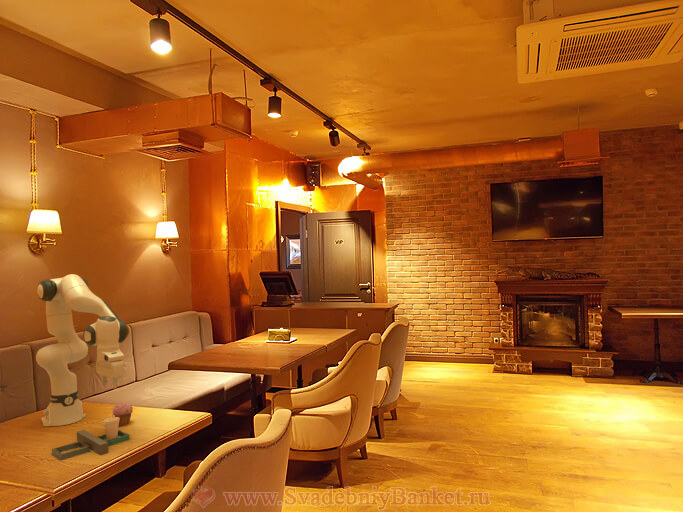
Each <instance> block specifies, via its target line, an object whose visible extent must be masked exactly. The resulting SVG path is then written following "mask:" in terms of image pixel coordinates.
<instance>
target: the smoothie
mask: <svg viewBox="0 0 683 512" xmlns="http://www.w3.org/2000/svg"><path fill="white" fill-rule="evenodd" d="M119 421H120V418H119V417H115V416H114V415H113V408H111V416H110V417H107V418H104V420H103V422H102V423H103V424H104V429H105V434H106V436H107V439H106V441H108V440H111V439H115V438H118V437H119V436H118V430H119V426H120V425H119Z"/></svg>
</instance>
